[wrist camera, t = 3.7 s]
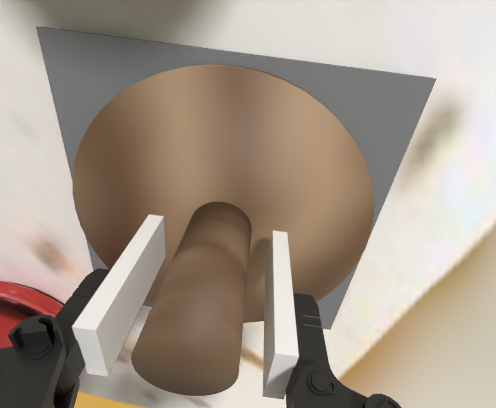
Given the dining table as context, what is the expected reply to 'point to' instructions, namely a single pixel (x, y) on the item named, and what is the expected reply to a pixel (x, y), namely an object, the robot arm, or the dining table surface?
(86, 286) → the robot arm
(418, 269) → the dining table surface
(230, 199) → the lid
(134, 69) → the mat
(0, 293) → the plant pot
